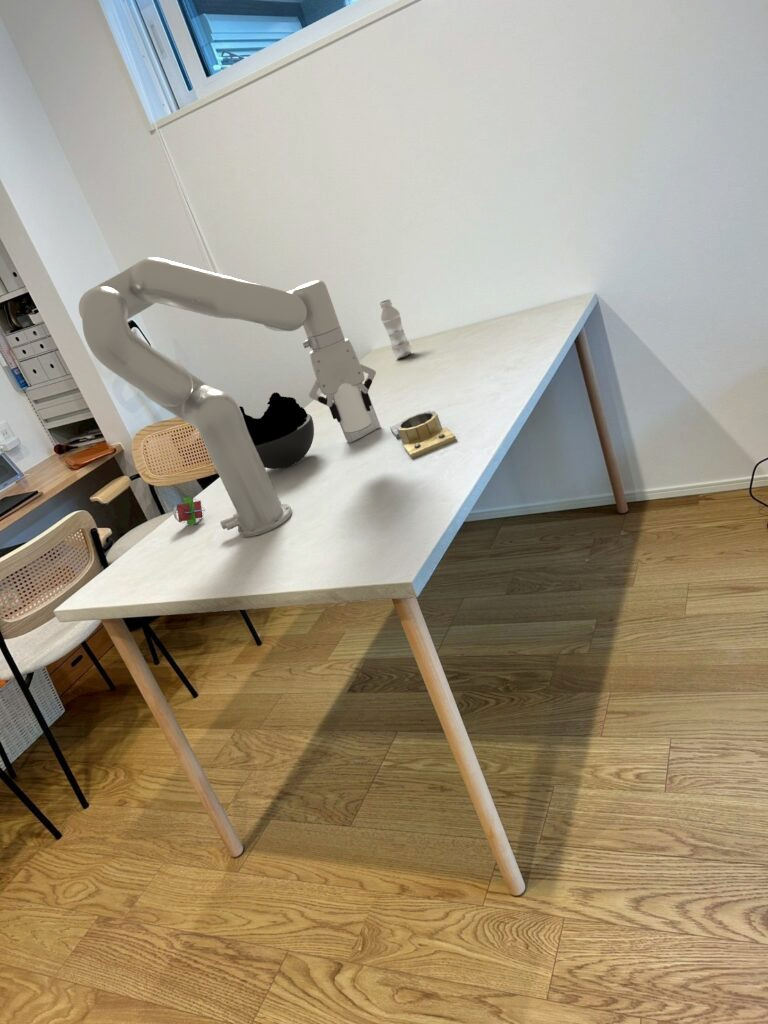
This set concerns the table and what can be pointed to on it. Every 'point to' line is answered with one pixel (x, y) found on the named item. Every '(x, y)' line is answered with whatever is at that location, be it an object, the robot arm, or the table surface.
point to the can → (351, 408)
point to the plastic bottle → (395, 330)
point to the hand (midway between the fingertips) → (353, 414)
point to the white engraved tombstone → (373, 426)
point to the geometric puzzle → (188, 511)
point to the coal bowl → (281, 432)
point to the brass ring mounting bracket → (422, 433)
